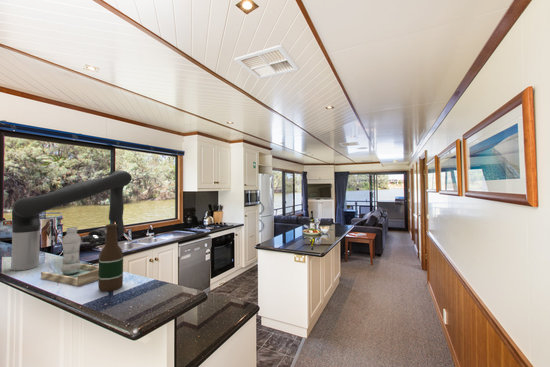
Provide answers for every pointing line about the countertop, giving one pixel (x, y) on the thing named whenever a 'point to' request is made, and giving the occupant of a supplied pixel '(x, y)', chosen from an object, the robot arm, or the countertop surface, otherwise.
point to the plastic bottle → (71, 252)
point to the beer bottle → (110, 262)
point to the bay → (84, 276)
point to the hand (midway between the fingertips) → (80, 242)
